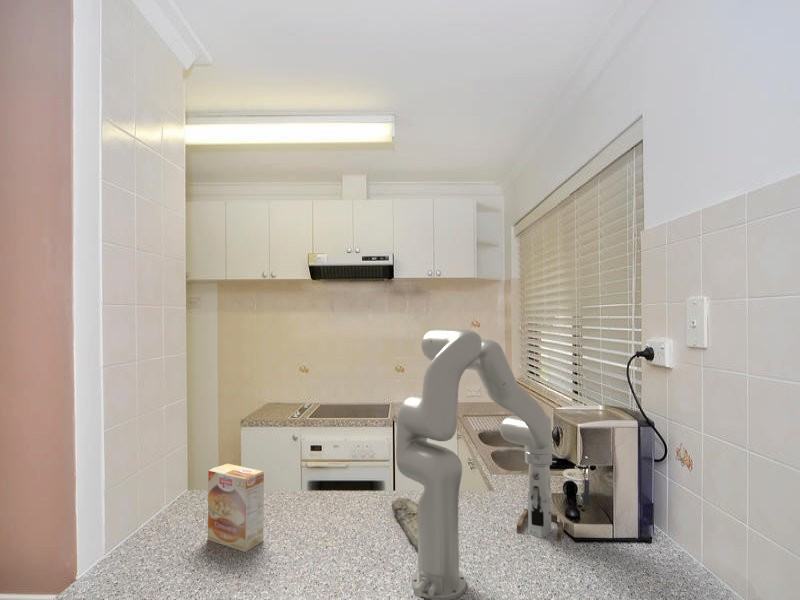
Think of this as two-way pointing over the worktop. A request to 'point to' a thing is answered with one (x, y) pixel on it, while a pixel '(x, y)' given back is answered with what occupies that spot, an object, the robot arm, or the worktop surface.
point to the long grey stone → (407, 518)
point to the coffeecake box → (235, 506)
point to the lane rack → (553, 519)
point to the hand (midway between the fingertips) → (539, 519)
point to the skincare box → (547, 526)
